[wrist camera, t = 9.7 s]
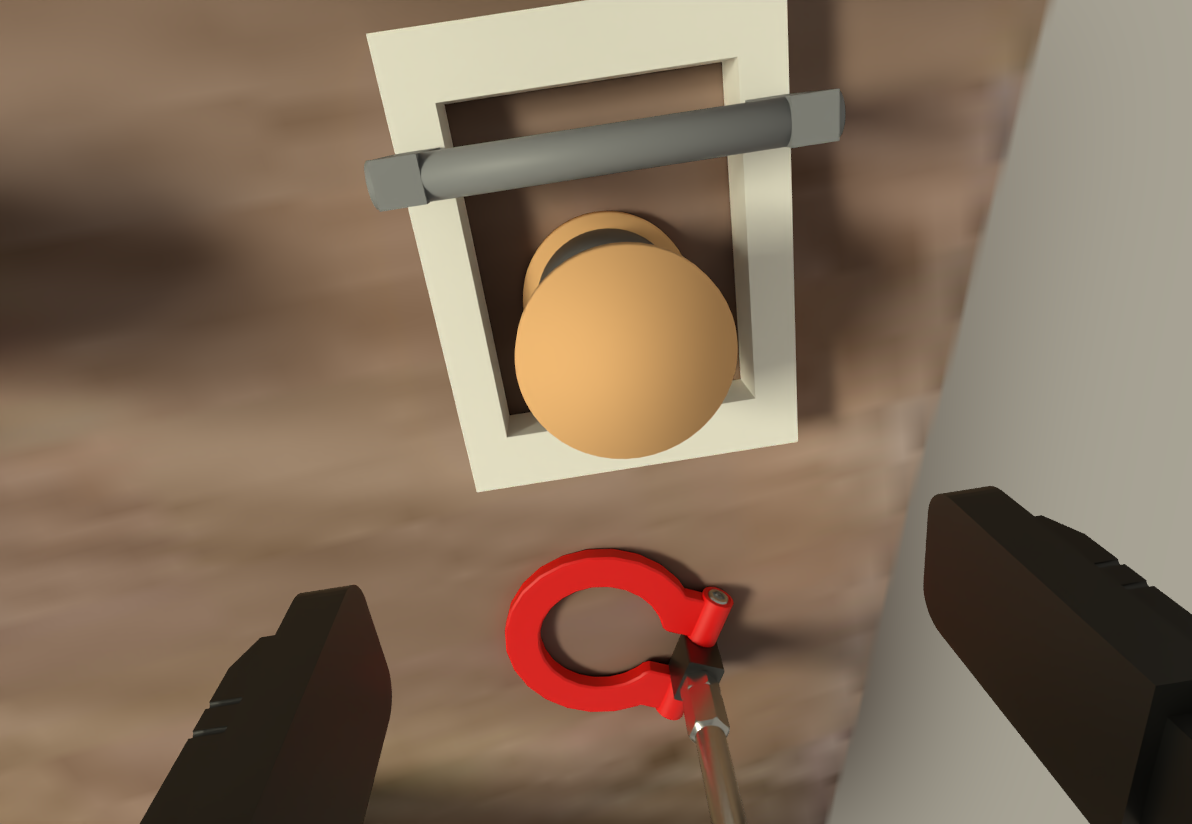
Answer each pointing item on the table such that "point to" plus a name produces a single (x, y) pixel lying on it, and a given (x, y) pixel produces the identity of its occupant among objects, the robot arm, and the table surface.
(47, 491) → the table surface
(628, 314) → the cord spool
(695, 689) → the tow hook
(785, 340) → the white frame with rod
